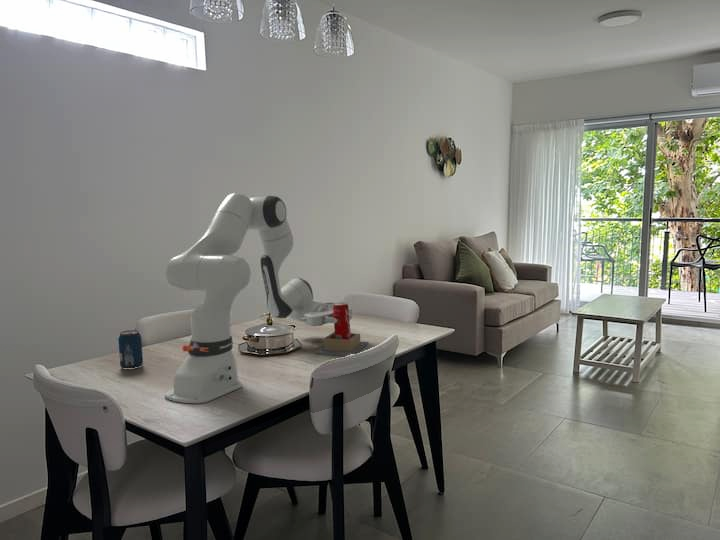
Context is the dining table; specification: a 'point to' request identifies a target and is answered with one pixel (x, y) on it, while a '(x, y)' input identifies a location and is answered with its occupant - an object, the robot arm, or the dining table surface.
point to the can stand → (341, 345)
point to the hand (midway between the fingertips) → (343, 319)
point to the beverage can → (342, 321)
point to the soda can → (130, 349)
